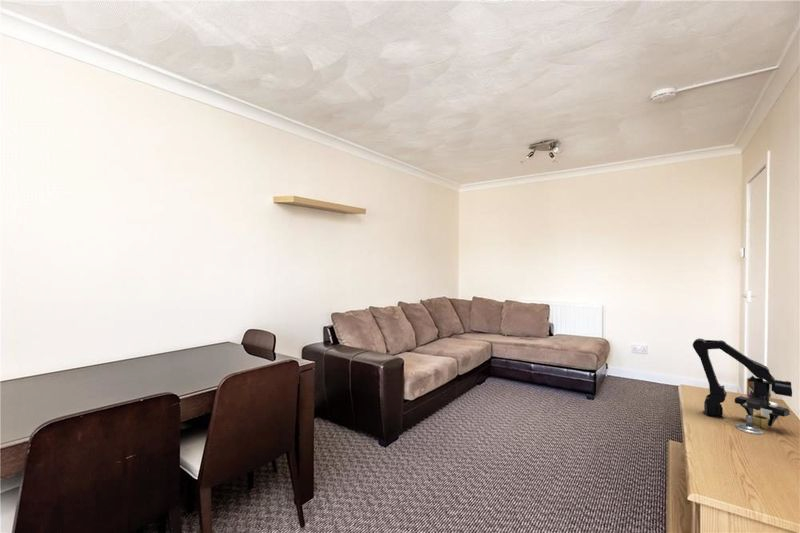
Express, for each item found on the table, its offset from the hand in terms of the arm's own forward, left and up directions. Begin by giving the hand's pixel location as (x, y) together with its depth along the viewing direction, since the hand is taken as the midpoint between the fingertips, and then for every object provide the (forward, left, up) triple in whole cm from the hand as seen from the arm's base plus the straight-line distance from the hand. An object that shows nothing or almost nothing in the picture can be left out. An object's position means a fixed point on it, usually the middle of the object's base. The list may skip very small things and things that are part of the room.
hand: (760, 423), depth 180 cm
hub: (-8, -7, -1) cm, 11 cm away
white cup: (+11, +15, -1) cm, 19 cm away
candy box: (+13, +27, -1) cm, 30 cm away
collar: (0, 0, -1) cm, 1 cm away
